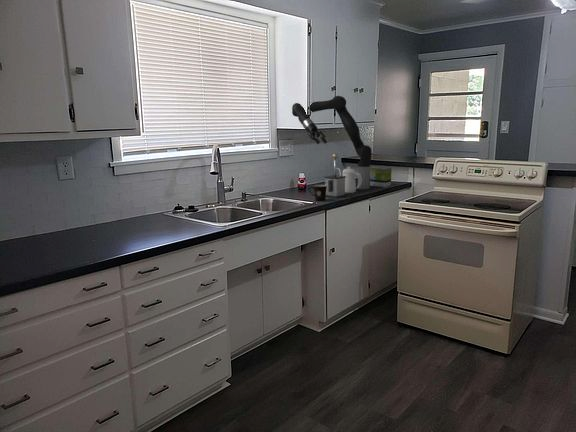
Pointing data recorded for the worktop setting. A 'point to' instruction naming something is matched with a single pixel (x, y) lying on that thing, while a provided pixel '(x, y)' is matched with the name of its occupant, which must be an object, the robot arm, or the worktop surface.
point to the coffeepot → (350, 180)
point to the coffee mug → (319, 192)
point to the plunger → (335, 156)
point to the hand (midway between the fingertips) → (322, 143)
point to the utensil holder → (335, 186)
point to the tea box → (380, 176)
